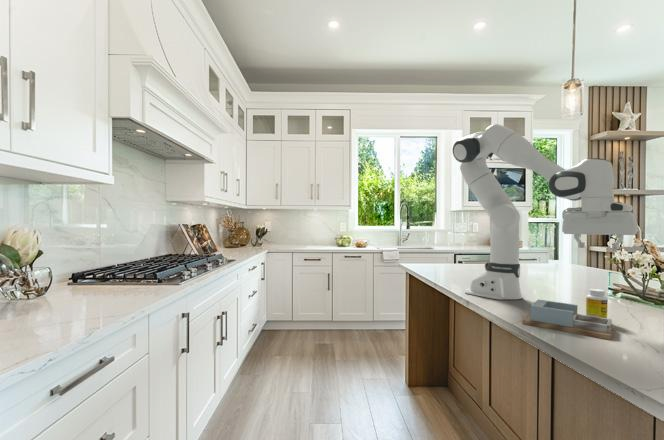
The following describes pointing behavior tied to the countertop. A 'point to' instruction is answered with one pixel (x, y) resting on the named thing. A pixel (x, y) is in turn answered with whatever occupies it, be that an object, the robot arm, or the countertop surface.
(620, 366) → the countertop surface
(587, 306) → the supplement bottle
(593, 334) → the board
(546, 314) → the box
